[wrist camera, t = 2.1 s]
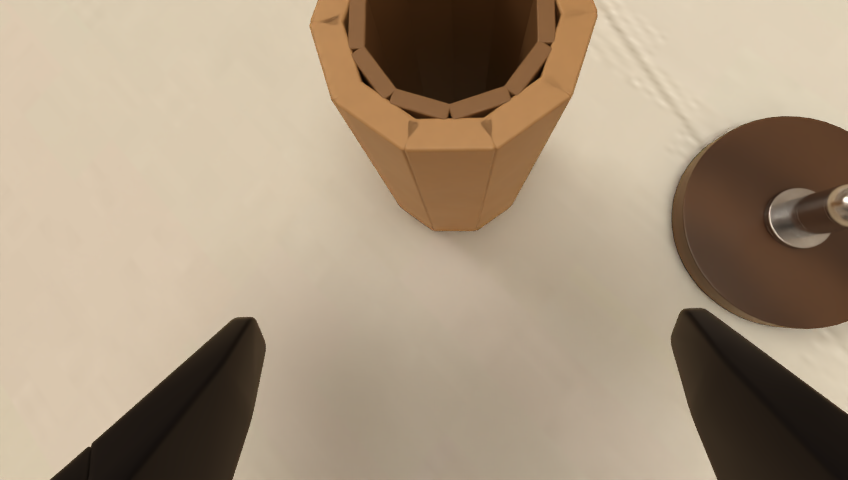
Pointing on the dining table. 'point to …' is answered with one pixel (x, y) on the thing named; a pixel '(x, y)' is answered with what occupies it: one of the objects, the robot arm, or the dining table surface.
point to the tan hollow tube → (452, 93)
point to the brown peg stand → (769, 222)
